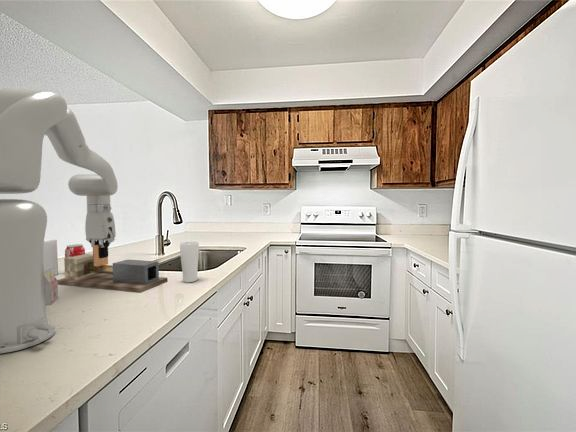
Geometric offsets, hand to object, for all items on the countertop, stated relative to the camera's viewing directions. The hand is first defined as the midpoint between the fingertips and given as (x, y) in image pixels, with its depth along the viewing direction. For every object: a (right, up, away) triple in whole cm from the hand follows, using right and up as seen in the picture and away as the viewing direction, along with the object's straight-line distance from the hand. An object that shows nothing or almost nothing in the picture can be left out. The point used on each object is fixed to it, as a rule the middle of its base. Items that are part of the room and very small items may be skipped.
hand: (100, 256), depth 111 cm
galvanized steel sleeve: (+16, -8, -4) cm, 18 cm away
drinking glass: (+34, -10, +2) cm, 35 cm away
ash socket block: (-8, -8, +3) cm, 12 cm away
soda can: (-20, -9, +14) cm, 26 cm away
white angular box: (-3, -11, -21) cm, 24 cm away
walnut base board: (+5, -10, -1) cm, 11 cm away
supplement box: (-31, -9, +9) cm, 33 cm away
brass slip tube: (+6, -6, -1) cm, 9 cm away
